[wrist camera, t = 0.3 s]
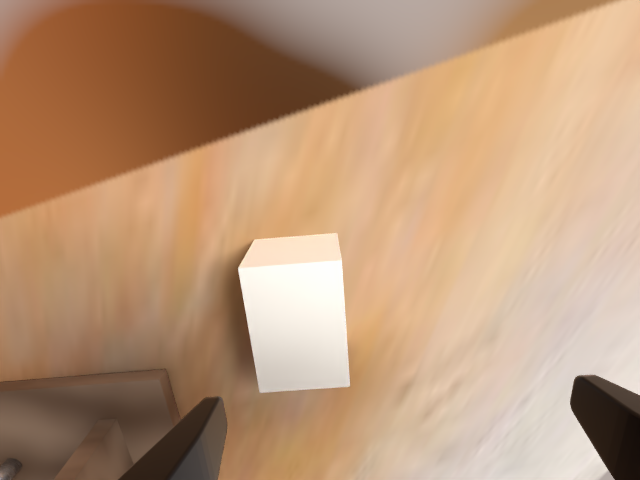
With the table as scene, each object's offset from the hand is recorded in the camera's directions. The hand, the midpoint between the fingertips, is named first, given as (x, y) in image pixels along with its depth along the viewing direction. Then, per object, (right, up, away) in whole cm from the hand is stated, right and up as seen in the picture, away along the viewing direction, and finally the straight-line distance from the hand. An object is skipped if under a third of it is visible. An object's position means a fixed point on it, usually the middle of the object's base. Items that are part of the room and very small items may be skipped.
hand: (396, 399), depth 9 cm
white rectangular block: (-3, +1, +13) cm, 13 cm away
